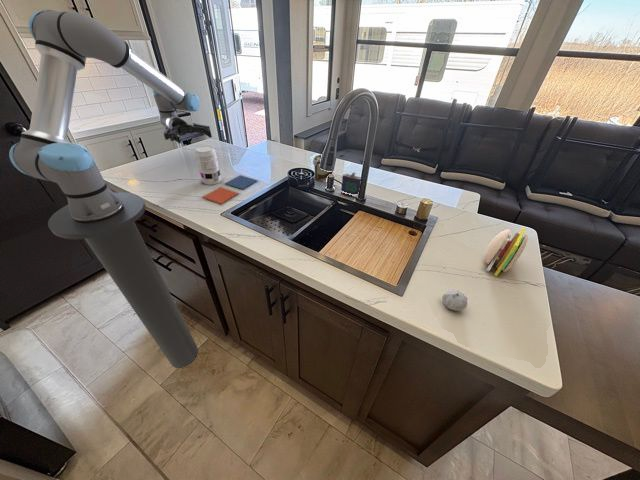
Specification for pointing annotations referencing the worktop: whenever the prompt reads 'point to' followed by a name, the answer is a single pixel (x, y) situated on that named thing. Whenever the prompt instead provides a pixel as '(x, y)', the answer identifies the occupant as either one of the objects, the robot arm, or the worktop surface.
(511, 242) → the hamburger
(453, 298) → the garlic
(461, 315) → the worktop surface
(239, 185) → the slate pad
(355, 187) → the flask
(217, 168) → the supplement can
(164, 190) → the worktop surface
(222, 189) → the terracotta pad
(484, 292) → the worktop surface
